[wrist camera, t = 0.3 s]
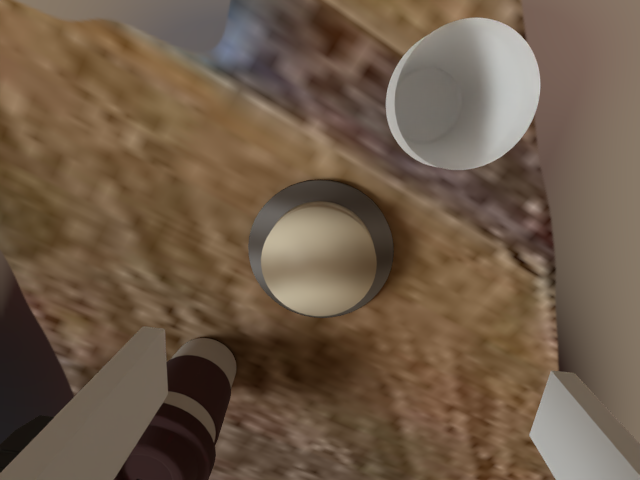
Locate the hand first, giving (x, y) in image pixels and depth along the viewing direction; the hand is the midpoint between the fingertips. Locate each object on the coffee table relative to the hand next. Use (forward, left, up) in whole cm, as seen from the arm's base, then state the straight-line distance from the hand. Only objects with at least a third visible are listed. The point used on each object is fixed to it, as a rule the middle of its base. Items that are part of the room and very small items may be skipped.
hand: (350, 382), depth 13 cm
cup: (-10, +7, -26) cm, 29 cm away
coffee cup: (+18, -17, -26) cm, 36 cm away
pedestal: (+4, -3, -26) cm, 26 cm away
